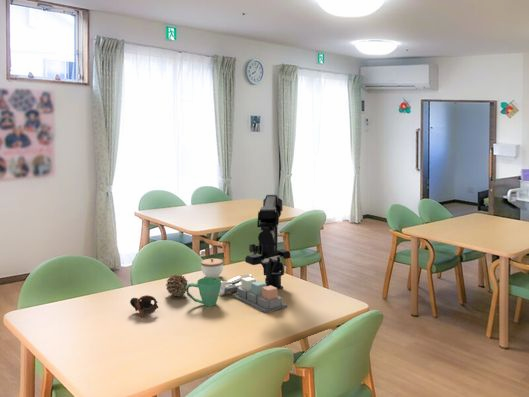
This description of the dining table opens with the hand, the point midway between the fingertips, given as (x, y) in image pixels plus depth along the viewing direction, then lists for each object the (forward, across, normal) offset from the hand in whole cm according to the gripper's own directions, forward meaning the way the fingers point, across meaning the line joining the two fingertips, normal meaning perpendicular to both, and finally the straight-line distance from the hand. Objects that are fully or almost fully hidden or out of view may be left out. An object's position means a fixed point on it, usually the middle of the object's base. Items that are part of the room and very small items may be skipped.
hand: (268, 277), depth 206 cm
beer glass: (+9, +8, -24) cm, 27 cm away
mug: (+12, +20, -18) cm, 30 cm away
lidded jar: (+12, -2, -49) cm, 51 cm away
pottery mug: (+13, +44, -24) cm, 51 cm away
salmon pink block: (+9, 0, 0) cm, 9 cm away
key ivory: (+9, 0, -15) cm, 17 cm away
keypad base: (+12, 0, -7) cm, 14 cm away
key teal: (+9, 0, -7) cm, 12 cm away
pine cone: (+12, +23, -38) cm, 46 cm away
